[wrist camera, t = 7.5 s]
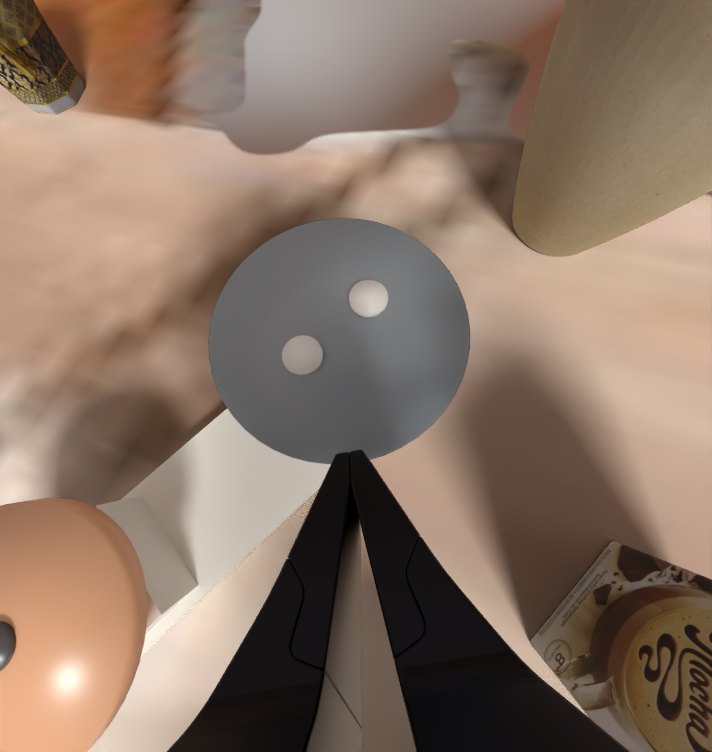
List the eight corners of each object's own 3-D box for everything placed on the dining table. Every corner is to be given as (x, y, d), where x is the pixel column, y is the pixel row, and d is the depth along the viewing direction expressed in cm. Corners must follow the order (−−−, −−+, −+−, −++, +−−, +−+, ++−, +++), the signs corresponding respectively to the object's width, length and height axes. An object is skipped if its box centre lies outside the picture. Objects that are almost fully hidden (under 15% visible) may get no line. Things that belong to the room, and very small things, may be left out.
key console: (373, 292, 25) (374, 255, 20) (450, 364, 23) (470, 342, 18) (32, 586, 21) (-70, 628, 16) (91, 703, 19) (-4, 791, 14)
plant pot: (610, 325, 23) (1074, 89, 8) (443, 251, 26) (550, -40, 10) (665, 191, 26) (1088, -177, 11) (509, 136, 29) (671, -230, 13)
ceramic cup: (5, 88, 34) (-140, -54, 24) (82, 50, 35) (-28, -101, 25) (38, 157, 31) (-112, 26, 22) (122, 114, 32) (14, -30, 22)
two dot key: (353, 252, 21) (345, 173, 15) (478, 368, 19) (531, 329, 12) (222, 360, 20) (155, 321, 13) (339, 502, 17) (322, 533, 11)
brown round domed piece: (141, 449, 21) (44, 449, 14) (240, 595, 18) (173, 670, 12) (-10, 575, 19) (-189, 635, 13) (75, 754, 17) (-98, 933, 10)
